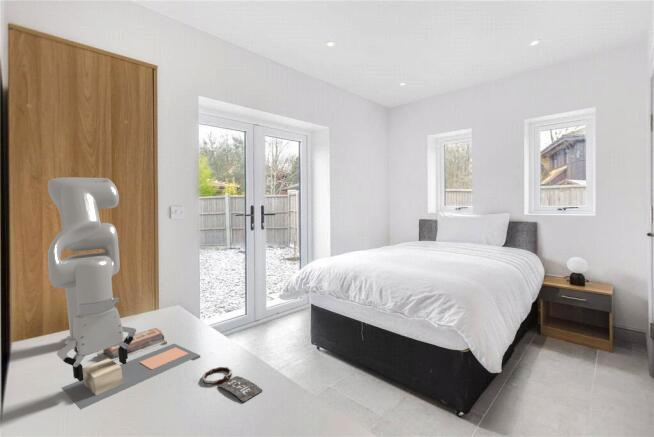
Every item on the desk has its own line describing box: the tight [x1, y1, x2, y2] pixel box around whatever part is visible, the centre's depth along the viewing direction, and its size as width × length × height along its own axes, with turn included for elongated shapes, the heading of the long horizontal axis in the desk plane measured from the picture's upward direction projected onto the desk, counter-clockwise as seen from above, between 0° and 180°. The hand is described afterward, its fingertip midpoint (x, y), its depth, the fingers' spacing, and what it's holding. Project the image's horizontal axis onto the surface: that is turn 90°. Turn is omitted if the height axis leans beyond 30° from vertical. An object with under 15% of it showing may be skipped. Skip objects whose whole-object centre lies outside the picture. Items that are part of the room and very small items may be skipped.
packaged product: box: [96, 327, 168, 362], centre depth 105 cm, size 18×5×10 cm
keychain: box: [201, 366, 263, 403], centre depth 81 cm, size 8×19×2 cm, turn 50°
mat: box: [61, 343, 201, 410], centre depth 90 cm, size 16×30×1 cm, turn 143°
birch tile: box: [83, 358, 123, 395], centre depth 83 cm, size 9×6×4 cm, turn 53°
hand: (102, 370), depth 83 cm, fingers open, 9 cm apart
